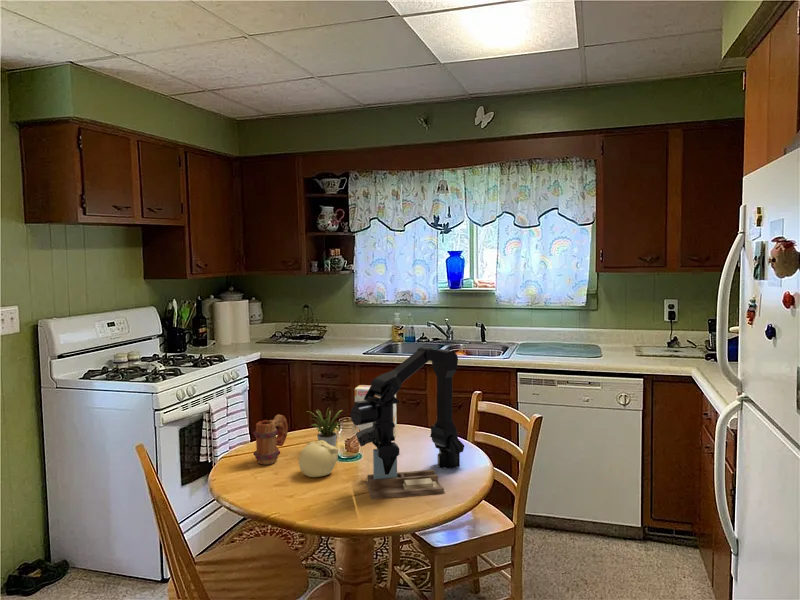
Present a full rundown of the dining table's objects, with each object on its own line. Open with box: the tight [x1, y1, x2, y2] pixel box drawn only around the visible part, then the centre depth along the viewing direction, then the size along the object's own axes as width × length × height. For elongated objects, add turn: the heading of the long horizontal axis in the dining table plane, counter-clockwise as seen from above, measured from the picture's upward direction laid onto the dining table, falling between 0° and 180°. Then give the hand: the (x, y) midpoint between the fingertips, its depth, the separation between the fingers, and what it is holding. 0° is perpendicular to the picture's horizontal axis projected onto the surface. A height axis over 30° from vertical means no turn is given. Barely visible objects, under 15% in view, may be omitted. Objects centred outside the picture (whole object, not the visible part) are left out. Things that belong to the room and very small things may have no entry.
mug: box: [252, 414, 289, 466], centre depth 211 cm, size 15×8×15 cm, turn 148°
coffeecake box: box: [354, 384, 398, 438], centre depth 236 cm, size 15×7×20 cm, turn 77°
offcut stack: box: [403, 478, 439, 490], centre depth 182 cm, size 10×4×2 cm, turn 100°
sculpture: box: [298, 440, 339, 478], centre depth 198 cm, size 12×12×11 cm
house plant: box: [307, 406, 344, 447], centre depth 219 cm, size 14×14×16 cm
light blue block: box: [372, 448, 398, 479], centre depth 186 cm, size 7×2×11 cm, turn 100°
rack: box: [364, 469, 446, 500], centre depth 184 cm, size 22×14×4 cm, turn 100°
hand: (384, 469), depth 186 cm, fingers open, 8 cm apart
